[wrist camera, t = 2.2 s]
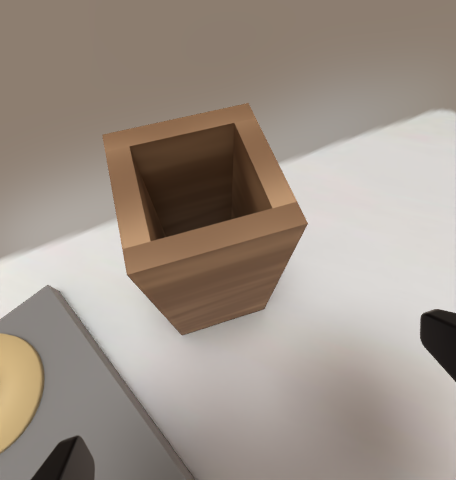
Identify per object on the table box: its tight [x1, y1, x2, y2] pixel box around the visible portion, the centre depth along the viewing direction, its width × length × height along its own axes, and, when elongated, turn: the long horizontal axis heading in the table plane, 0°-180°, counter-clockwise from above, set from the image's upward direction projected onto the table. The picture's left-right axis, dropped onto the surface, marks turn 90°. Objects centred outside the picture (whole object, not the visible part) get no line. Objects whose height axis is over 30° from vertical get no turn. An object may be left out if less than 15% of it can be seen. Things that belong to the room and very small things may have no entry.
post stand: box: [0, 285, 195, 480], centre depth 15 cm, size 16×12×5 cm
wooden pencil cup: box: [103, 103, 308, 335], centre depth 16 cm, size 6×6×12 cm
